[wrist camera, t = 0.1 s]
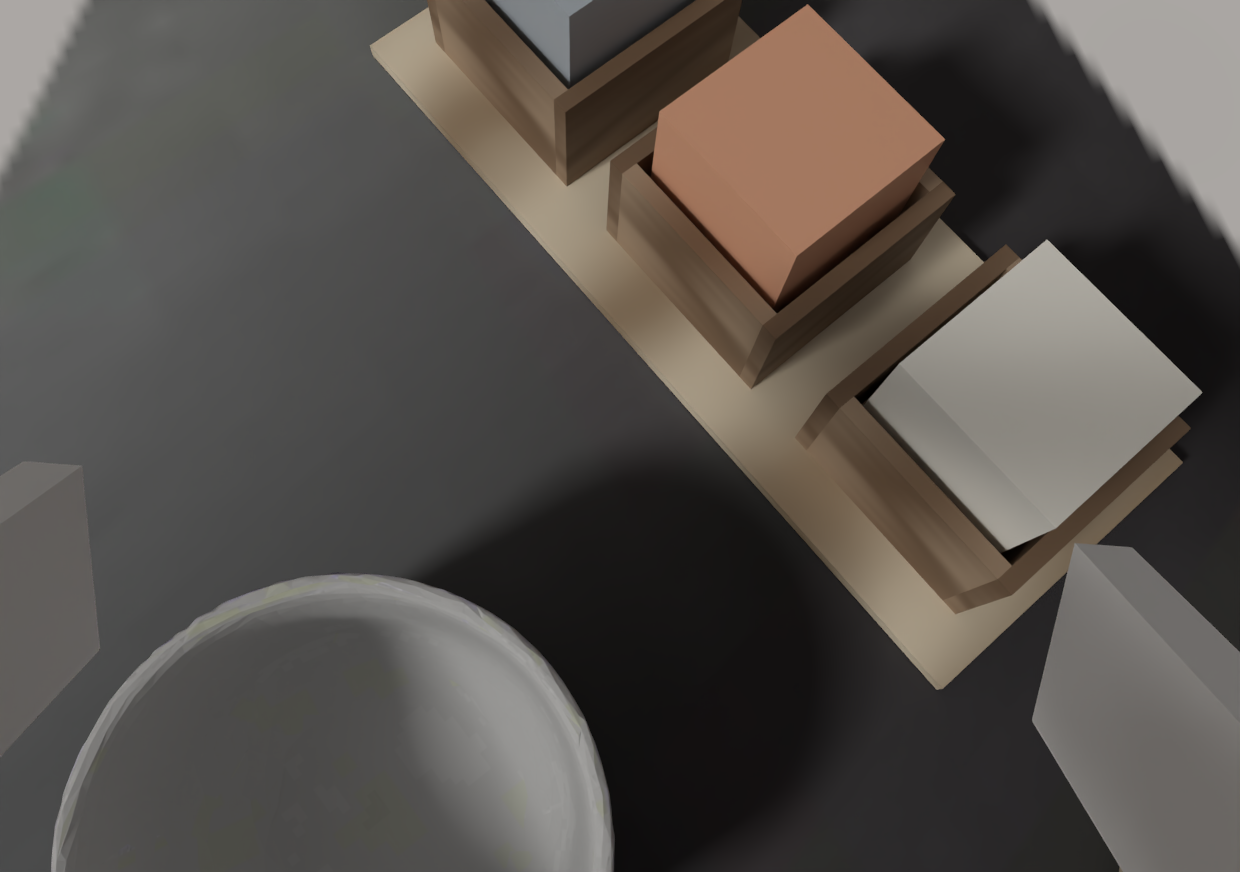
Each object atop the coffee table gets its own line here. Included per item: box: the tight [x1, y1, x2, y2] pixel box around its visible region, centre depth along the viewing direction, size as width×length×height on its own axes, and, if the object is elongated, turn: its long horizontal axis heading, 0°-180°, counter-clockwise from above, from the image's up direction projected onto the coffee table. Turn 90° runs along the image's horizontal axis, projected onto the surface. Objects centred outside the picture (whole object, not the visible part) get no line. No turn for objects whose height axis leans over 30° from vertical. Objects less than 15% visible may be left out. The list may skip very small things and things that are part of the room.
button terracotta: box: [651, 4, 945, 313], centre depth 28 cm, size 5×5×4 cm
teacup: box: [51, 572, 615, 872], centre depth 24 cm, size 14×11×8 cm
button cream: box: [863, 240, 1203, 553], centre depth 26 cm, size 5×5×4 cm
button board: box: [370, 0, 1191, 690], centre depth 30 cm, size 26×10×4 cm, turn 40°
